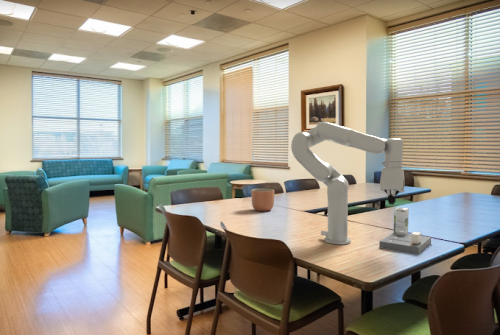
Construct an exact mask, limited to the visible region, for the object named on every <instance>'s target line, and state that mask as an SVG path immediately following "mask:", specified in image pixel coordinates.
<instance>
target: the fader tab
mask: <svg viewBox="0 0 500 335" xmlns="http://www.w3.org/2000/svg"><path fill="white" fill-rule="evenodd" d="M410 234H411V243H416V244H418V243H420V242H421V236H422V232H419V231H413V232H412V233H410Z"/></svg>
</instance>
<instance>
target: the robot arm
mask: <svg viewBox="0 0 500 335" xmlns="http://www.w3.org/2000/svg"><path fill="white" fill-rule="evenodd" d="M325 141H328V142H331V143H334V144H335V143H336V144H338V145H342V146H346V147H348V148H354V149H358V150H362V151H364V152H367V153H370V154H373V155H378V154H384V161H382V162H381V165H382V166H383V167H381V168H382V169H381V174H380V181H379V187H380V188H379V189H380V191H382V192H385V194H386V195H387V203H388V205H391V206H392V205H395V203H396V196H397V195H399V194H401V193H404V192H405V187H406V186H405V170H404V168H403V149H404V142H403V139H402V138H380V137H377V136H374V135H370V134H367V133H363V132H361V131H357V130H355V129H353V128H349V127H346V126H341V125H339V124H335V123H331V122H328V121H320V122H318V124H316V125H315V127H313V128H311V129H309V130H306V131H299V132H296V133H295V135H294V136H293V137H292V140H291V144H290V148H291V152H292V156H293V157H294V159H295V161H297V162H298V163H299V164H300V165H301V166H302V167H303V168H304V170H306V171H307V172H308V173H309V174H310V175H312V177H313V178H314V179H315V180H317V181H318V182H322V183H323V185H325V186H326V187H327V191H326V192H327V193H326V194H327V231H326V230H321V231H320V236H325V237H324V242H326V243H327V244H331V245H347V244H350V243H351V242H352V239H351V238H349V237H348V231H349V230H348V225H349V224H348V221H349V220H348V216H349V215H348V213H349V212H348V210H349V208H348V205H349V204H348V203H349V202H348V201H349V199H348V194H349V186H350V184H349V182H348V179H346V177H344V175H343V174H341V173H340V172H339V171H338V170H337V169H336V168H335V166H333V165H331V164H330V163H329V162H327V161H323V160H322V159H321V158H320V157H318V155H316V153H314V152H313V151H312V150H311V149H310V148H311V147H314V146H316V145H318V144H320V143H323V142H325Z"/></svg>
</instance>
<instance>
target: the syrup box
mask: <svg viewBox="0 0 500 335" xmlns="http://www.w3.org/2000/svg"><path fill="white" fill-rule="evenodd" d="M393 210H394V211H393V233H394V232H397V231H405V234H409V218H410V216H409V215H410V214H409V212H410V211H409V210H410V209H409V208H408V207H401V206H399V207H398V206H397V207H396V208H394V209H393Z"/></svg>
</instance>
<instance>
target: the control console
mask: <svg viewBox="0 0 500 335" xmlns="http://www.w3.org/2000/svg"><path fill="white" fill-rule="evenodd" d="M411 234H412V233H408V234H405V231H397V232H394V231H393V232H392V233H390V234H389V235H387V236H385V237H384V238H382V239H381V240H379V248H381V249H386V250H390V251H391V250H392V251H398V252H404V253H409V254H415V255H420V254H421V253H422V252H423V251H424V250H426V248H428V247H429V246H430V245H431V244H432V237H431V236H424V235H421V242H420V243H418V244H416V243H411Z"/></svg>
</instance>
